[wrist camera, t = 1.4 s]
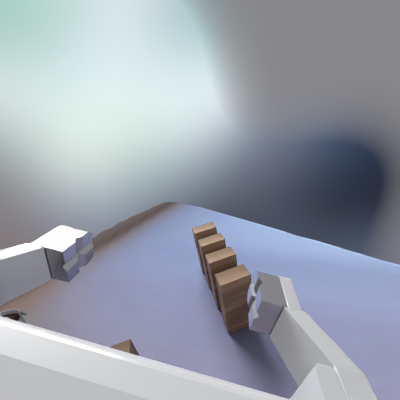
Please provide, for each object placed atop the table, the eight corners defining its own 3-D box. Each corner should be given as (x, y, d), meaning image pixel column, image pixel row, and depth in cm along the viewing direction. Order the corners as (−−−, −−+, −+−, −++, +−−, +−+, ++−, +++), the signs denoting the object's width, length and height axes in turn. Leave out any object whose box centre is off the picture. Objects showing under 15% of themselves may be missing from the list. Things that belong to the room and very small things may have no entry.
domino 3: (241, 300, 39) (235, 254, 34) (218, 309, 38) (209, 263, 33) (236, 291, 41) (229, 246, 36) (214, 299, 40) (204, 255, 35)
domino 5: (222, 267, 48) (216, 226, 43) (203, 274, 47) (194, 233, 42) (219, 261, 50) (212, 221, 45) (201, 267, 49) (191, 228, 44)
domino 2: (254, 323, 34) (250, 274, 29) (229, 334, 33) (220, 285, 28) (248, 311, 36) (243, 264, 31) (223, 322, 36) (214, 274, 31)
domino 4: (231, 282, 43) (224, 239, 38) (210, 290, 42) (200, 246, 37) (226, 274, 45) (220, 232, 40) (206, 281, 44) (197, 240, 39)
